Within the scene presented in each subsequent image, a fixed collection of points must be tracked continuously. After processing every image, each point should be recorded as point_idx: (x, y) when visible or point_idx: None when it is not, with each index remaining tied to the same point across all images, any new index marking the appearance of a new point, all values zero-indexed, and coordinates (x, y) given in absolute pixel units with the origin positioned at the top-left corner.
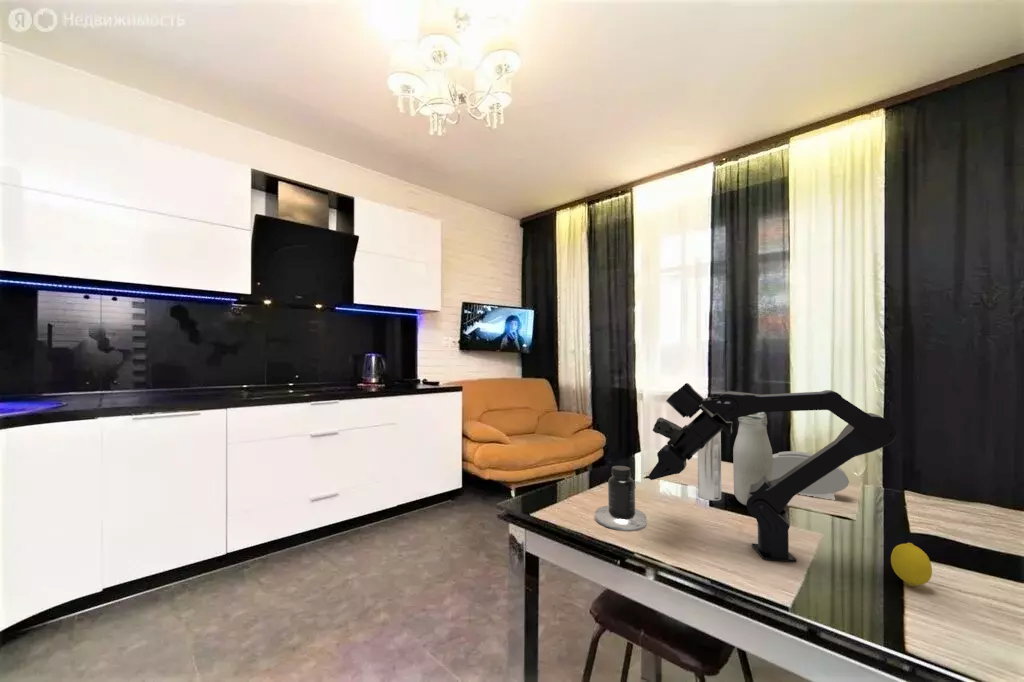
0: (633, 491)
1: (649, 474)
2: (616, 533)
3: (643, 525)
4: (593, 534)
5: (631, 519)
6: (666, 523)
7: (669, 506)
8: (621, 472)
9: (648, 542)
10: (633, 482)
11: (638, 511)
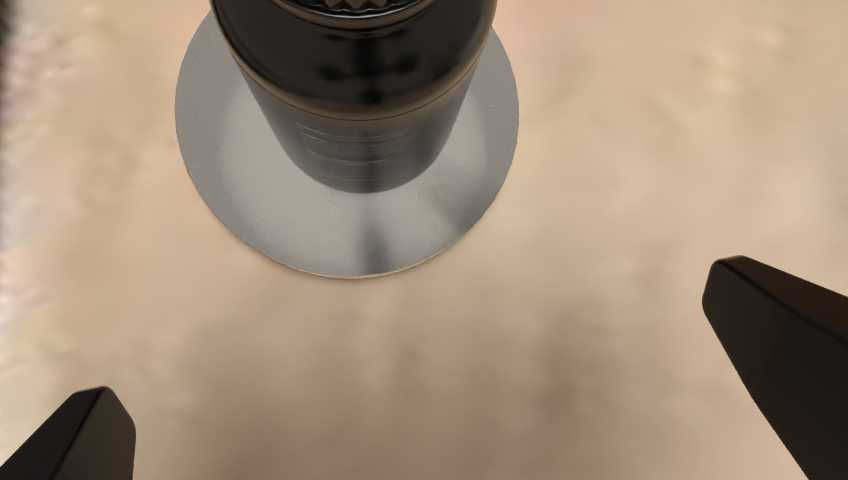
0: (352, 139)
1: (30, 437)
2: (149, 188)
3: (340, 277)
4: (40, 91)
5: (322, 197)
6: (513, 357)
7: (795, 258)
8: None
9: (156, 391)
10: (376, 97)
11: (487, 174)
